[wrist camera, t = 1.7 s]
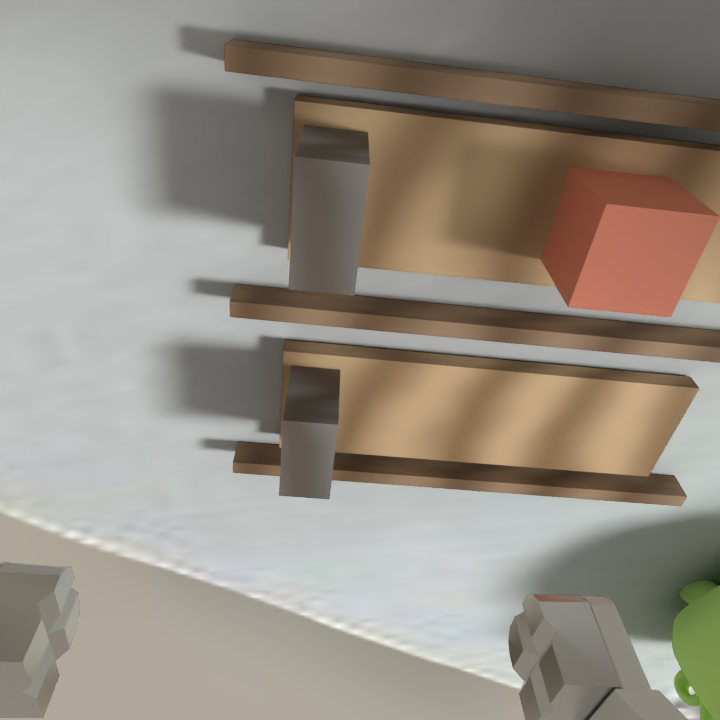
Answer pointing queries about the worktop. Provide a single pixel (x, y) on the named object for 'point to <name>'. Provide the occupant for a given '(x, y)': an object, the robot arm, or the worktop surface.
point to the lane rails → (463, 318)
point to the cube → (625, 241)
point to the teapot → (699, 648)
